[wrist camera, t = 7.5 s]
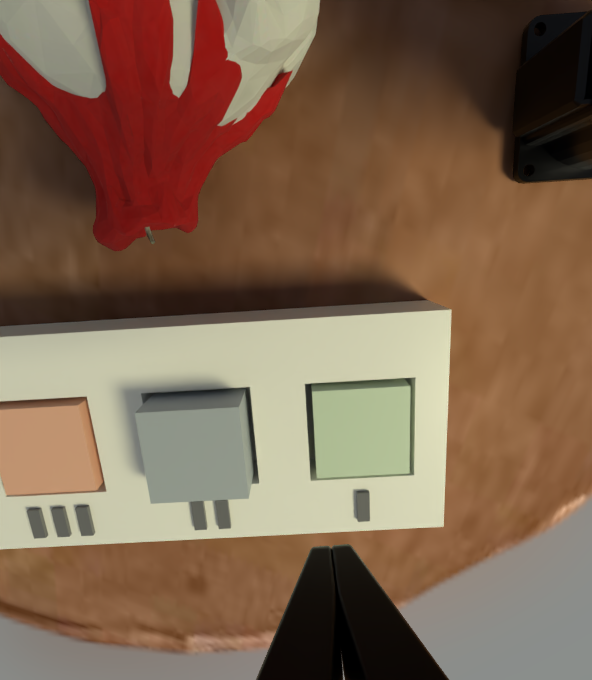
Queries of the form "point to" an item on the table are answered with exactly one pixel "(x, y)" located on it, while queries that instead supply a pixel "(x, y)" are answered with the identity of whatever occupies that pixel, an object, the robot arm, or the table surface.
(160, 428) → the slate tile
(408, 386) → the sage tile
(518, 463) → the table surface
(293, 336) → the button board
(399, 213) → the table surface
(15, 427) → the terracotta tile
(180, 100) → the red irregular piece
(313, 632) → the robot arm
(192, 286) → the table surface
